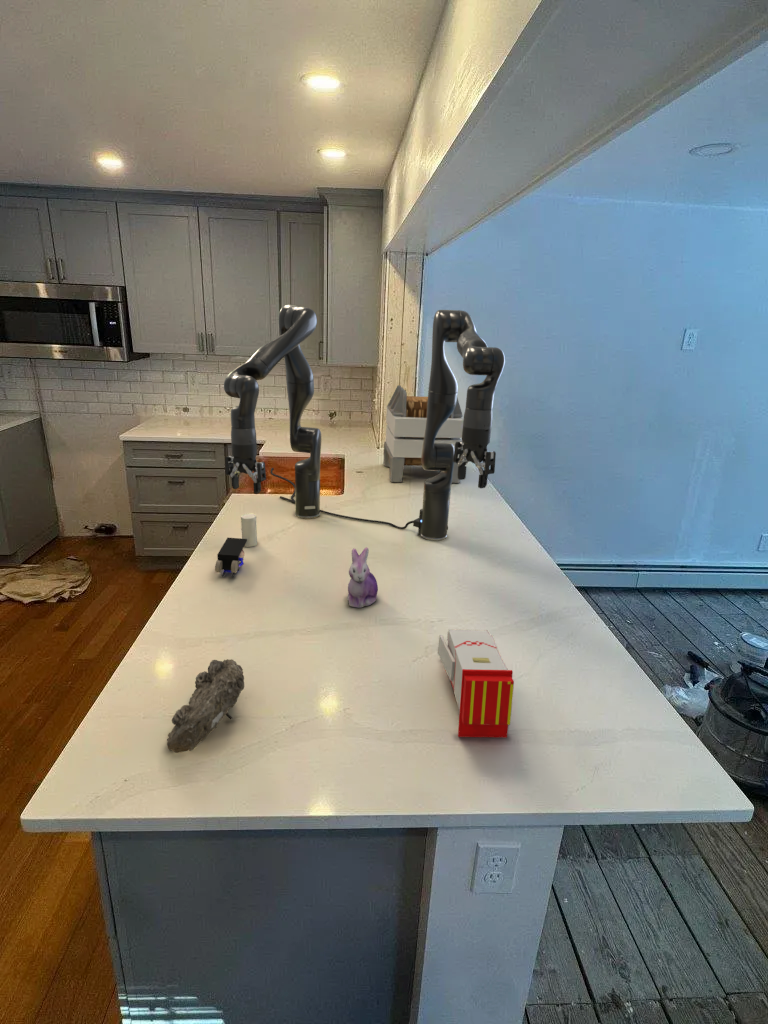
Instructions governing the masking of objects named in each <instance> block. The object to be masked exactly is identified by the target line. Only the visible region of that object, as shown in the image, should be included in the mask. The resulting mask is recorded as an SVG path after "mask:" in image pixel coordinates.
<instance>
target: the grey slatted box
mask: <svg viewBox="0 0 768 1024" xmlns="http://www.w3.org/2000/svg"><path fill="white" fill-rule="evenodd" d="M407 394H408V393H407V390H406V389H404V388H403V387H402V385H399V384H398V385H397V386H396V388H395V390H394V392H393V394H392V395H391V398H390V400H389V402H388V404H387V405H386V413H385V414H386V415H385V423H386V428H385V438H384V442H383V466H384V467H388V468H389V475H388V476H389V477H388V478H389V480H390V482H391V483H402V482H403V475H404V469H405V466H406V467H407V466H411V467H412V466H413V467H415V466H416V467H417V466H418V467H422V464H421V455H422V448H423V441H424V435H425V428H426V419H427V402H428V396H415V395H414V396H413V395H412V396H411V395H407ZM463 420H464V418H463V411H462V408H461V405H460V402H459V398H458V397H457V401H456V407H455V409H454V411H453V412H452V414H451V415H450V416H449V418H448V419H447V420H446V421H445V422H444V424H443V425H442V426H441V428H440V429H439V431H438V433H437V435H436V438H435V441H434V443H449V444H452V445H453V446H454V449H455V443H456V442H460V441H462V431H463ZM458 458H459V455H458ZM439 473H441V471H439ZM455 483H456V484H459V483H461V480H459V479H458V465H457V463H456V462H455V463H454V467H453V474H452V483H451V484H455Z"/></svg>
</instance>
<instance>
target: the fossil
mask: <svg viewBox="0 0 768 1024" xmlns="http://www.w3.org/2000/svg"><path fill="white" fill-rule="evenodd" d="M243 670H244V669H243V667H242V665H240V664H237V662H236V661H235V660H234V659H232V658H231V659H227V658H226V659H224V660H223V661H222V660H217V659H212V660H211V661H210V663H209V665H208V666H207V671H201V672H199V673H198V674H197V675H196V676H195V680H194V684H195V685H194V687H195V689H194V690H193V693H192V694H191V697H190V698H189V700H188V704H184V705H182V706H181V707H180V709H177V710H176V711H175V713H174V715H173V716H172V718H171V723H172V724H173V727H172V730H171V731H170V732H168V734H167V738H166V741H167V742H166V745H167V749H168V750H169V751H173V752H174V753H176V754H178V753H182V752H188V751H189V752H192V751H193V750H195V748H196V747H197V746H199V744H200V743H201V742H203V741H204V740H205V739H206V738H207V737H208V736H209V735H210V734H211V733H212V732H214V730H215V729H217V727H218V726H219V724H220V722H221V721H222V720H223V719H224V718H225V716H226V717H227V719H229V720H233V717H232V715H230V714H229V710H230V709H231V708H234V706H235V704H236V703H237V702H238V699H239V697H240V695H241V693H242V691H243V690H245V689H244V688H245V675H244V671H243Z"/></svg>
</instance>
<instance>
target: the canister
mask: <svg viewBox="0 0 768 1024" xmlns="http://www.w3.org/2000/svg"><path fill="white" fill-rule="evenodd" d="M240 527H241V528H240V529H241V539H247V542H246V544H245V546H244V547H245V548H253V547H256V546H257V545H258V526H257V515H256V514H254V513H244V514H242V515H241V516H240Z"/></svg>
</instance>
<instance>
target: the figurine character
mask: <svg viewBox="0 0 768 1024" xmlns="http://www.w3.org/2000/svg"><path fill="white" fill-rule="evenodd" d="M246 542H247V539H242V537H241V538H240V537H226V539H225V541H224V543H223V544H222V546H221V547H220V549H219V551H218V552H217V560H216V562H215V564H214V572H215V573H221V577H222V578H224V577H225V576H226V574H227V573H230V574H231V573H232V574H231V578H234V577H235V575H236V573H237V572H239V571H240V567H242V566H243V565H244V564H245V562H244V558H245V551H244V547H245V544H246Z"/></svg>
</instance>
